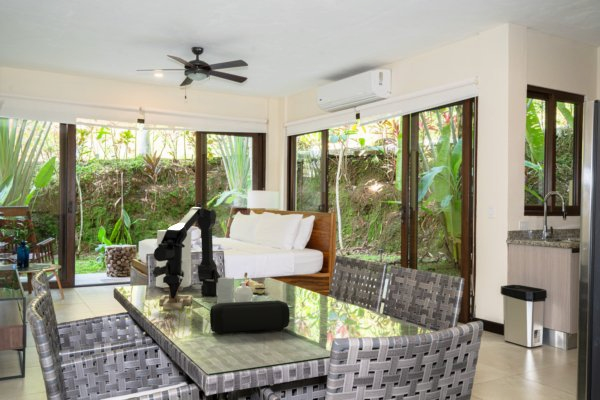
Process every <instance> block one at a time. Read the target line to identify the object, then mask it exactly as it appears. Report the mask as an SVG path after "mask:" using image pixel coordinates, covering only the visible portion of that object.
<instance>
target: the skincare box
mask: <svg viewBox="0 0 600 400" xmlns="http://www.w3.org/2000/svg"><path fill="white" fill-rule="evenodd" d="M234 291H235V278H234V277H224V276H222V277H221V276H220V278H218V283H217V303H216V304H218V303H230V302H235V299H234V296H233V293H234Z"/></svg>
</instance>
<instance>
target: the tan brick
mask: <svg viewBox="0 0 600 400" xmlns="http://www.w3.org/2000/svg"><path fill="white" fill-rule="evenodd" d="M183 289H184V287H183V286H179V288H178V290H177V293H176V295H175V298H171V293H170V288H169V286H165V287H164V288H163V291H164V292H167V291H169V292H168V295H169V303H178V301H177V299H178V295H179V292H181V291H183Z"/></svg>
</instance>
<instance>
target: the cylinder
mask: <svg viewBox="0 0 600 400" xmlns="http://www.w3.org/2000/svg"><path fill="white" fill-rule="evenodd" d="M166 231H167V229H162V230H161V229H160V230H159V229H158V230H157V233H156V234H157V235H156V248H157V247H158V244H161V241H162V239H163V237H164V235H165V233H166ZM182 244H184V245H185V247H183V248H182V270H183V271H184V277H182V276H180V279H183V280H182V282H181V284H180V286H183V288H187V287H188V288H189V287H190V286H191V282H192V281H191V276H192V272H191V271H192V230H188V231H187V237H186V238H185V240H184V241H183V242H182ZM166 263H167V260H166V261H157V260H156V266H155V267H157V266H159V267H161V266H164V265H166ZM165 276H166V275H165V274H163V275H160V276H158V277H155V287H157V288H163V289H164V287H165V286H169V285H167V284H166V283H163V278H164V277H165Z"/></svg>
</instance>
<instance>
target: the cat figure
mask: <svg viewBox="0 0 600 400" xmlns="http://www.w3.org/2000/svg"><path fill="white" fill-rule="evenodd" d="M243 277H244V280H245V281H244V282H246V286H248V287H250V289H251V290H252V292H253V294H260V295H261V294H263V293H265V292H266V290H268V287H267V286H265V284H264V283H263V282H262V281H261V280H260V279H259V280H258V279H257V281H255V280H251V279H248V272H244V275H243ZM239 286H241V283H240V284H239Z"/></svg>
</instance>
